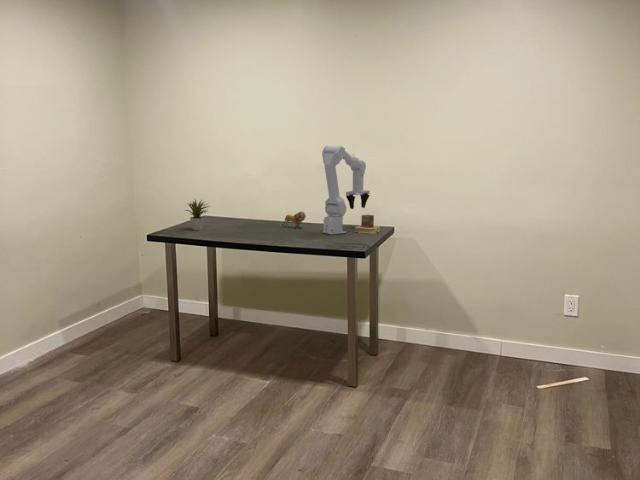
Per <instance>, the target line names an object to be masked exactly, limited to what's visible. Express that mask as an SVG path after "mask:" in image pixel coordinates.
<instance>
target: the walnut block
mask: <svg viewBox="0 0 640 480" xmlns="http://www.w3.org/2000/svg"><path fill="white" fill-rule="evenodd" d="M374 219H375V215H373V214H361V224H360V225H361V227H365V228H370V227H374V226H375V224H374V223H375V222H374Z"/></svg>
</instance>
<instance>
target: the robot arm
mask: <svg viewBox="0 0 640 480" xmlns="http://www.w3.org/2000/svg"><path fill="white" fill-rule="evenodd" d="M345 148H346V147H344V146H343V145H325V146H324V147H323V149H322V152H321V155H322V161H323V162H322V163H323V165H324V170H325V171H324V172H325V178H326V185H327V192H328V193H327V194H328V198H327V199H326V200H325V201H324V202H325V203H324V205H325V206H324V211H325V213H326V214H327V215H326V216H325V217H324V218H323V224H322V225H323V231H322V233H324V234H328V235H340V234H346V233H347V231H343V229H344V228H343V227H344V225H343V224H344V223H343V222H344V221H343V219H344V216H345V214H346V212H347V209H348V207H347V205H346V203H345V199H344V198H342V197H341V196H340V189H339V182H338V175H337V168H336V167H337V165H339V164H340V163H341V162H342V160H344V163H345V164H346V165H347V166H349V167H350V170H351V171H352V190H350V191H345V196H346V197H345V198H346V199H347V201H348V204H349V208H350V210H354V209H355V199H356V196H358V195H359V196H360V200H361V202H360V204H361V208H362V209H365V208H366V205H367V201H368V200H369V198H370V194H371V193H370V190H368V189H367V190H364V175H365V171H366V169H367V165H366V162H365V161H364V160H361V159H359V158H358V157H356V156H355V154H353V153H351V154H349V153H348V152H347V151H346V149H345Z"/></svg>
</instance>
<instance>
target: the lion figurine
mask: <svg viewBox="0 0 640 480" xmlns="http://www.w3.org/2000/svg"><path fill="white" fill-rule="evenodd" d="M306 218H307V215H306V212H304V211H298V212H297V213H295V214H294V215H292V214H286V215H285V218H284V222H283V223H282V224H281V226H284V225H285V227H286V228H289V225H288V223H290V222H291V223H294V225H295V229H296V228H298V227H300V224H301V223H302V222H303V221H305V220H306ZM298 229H299V228H298Z"/></svg>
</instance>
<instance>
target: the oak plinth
mask: <svg viewBox="0 0 640 480" xmlns="http://www.w3.org/2000/svg"><path fill="white" fill-rule="evenodd" d="M353 228H354V229H353V230H354V232H358V233H357V234H366V233H369V235H377V232H378V233H379V232H380V231H381V225H374V227H370V228H365V227H361V224H359V225H357V226H355V227H353Z"/></svg>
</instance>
